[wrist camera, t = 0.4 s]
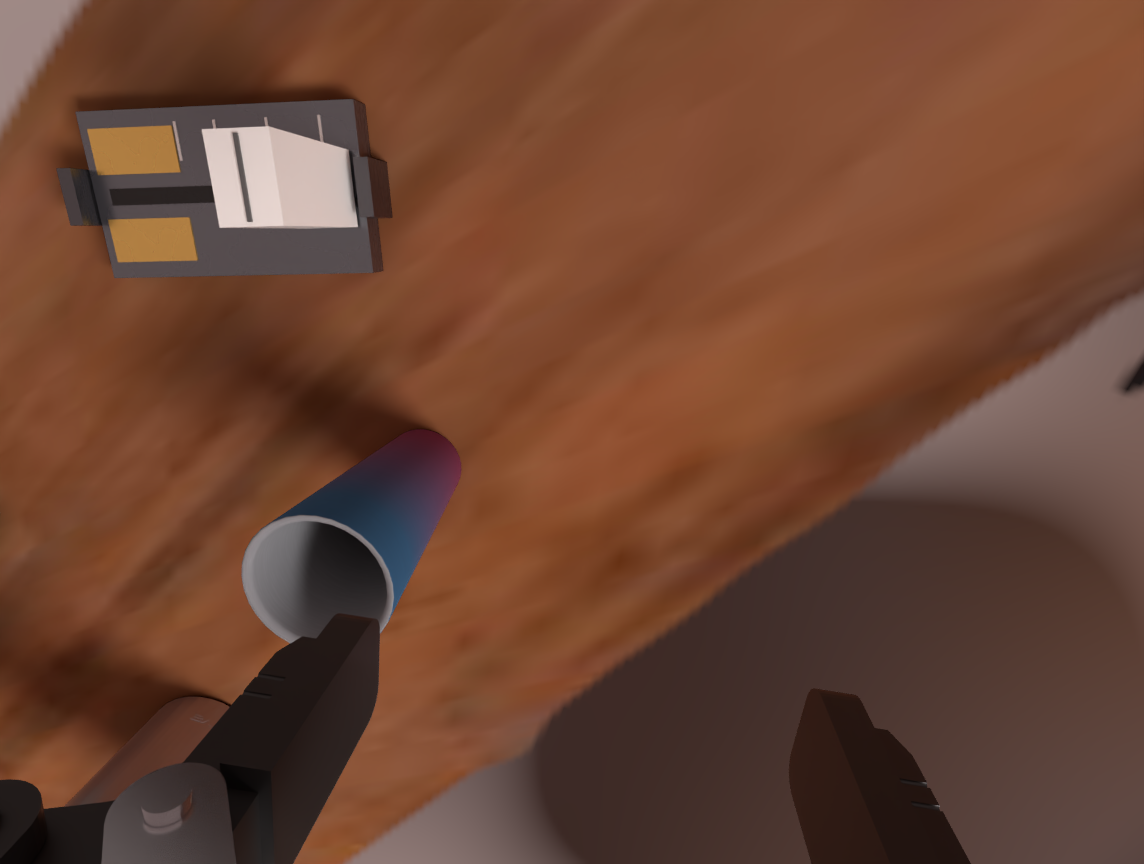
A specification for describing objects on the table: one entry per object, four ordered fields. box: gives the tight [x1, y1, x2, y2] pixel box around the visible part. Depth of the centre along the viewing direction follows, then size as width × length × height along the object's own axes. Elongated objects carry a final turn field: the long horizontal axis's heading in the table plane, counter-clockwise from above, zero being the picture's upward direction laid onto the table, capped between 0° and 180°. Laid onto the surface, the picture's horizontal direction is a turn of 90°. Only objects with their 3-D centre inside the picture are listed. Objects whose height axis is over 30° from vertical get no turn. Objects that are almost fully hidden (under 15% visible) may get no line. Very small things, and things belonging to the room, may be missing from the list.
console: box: [56, 99, 392, 278], centre depth 36 cm, size 18×9×3 cm, turn 91°
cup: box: [242, 429, 461, 643], centre depth 34 cm, size 7×7×15 cm
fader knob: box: [202, 126, 358, 229], centre depth 31 cm, size 3×4×8 cm
